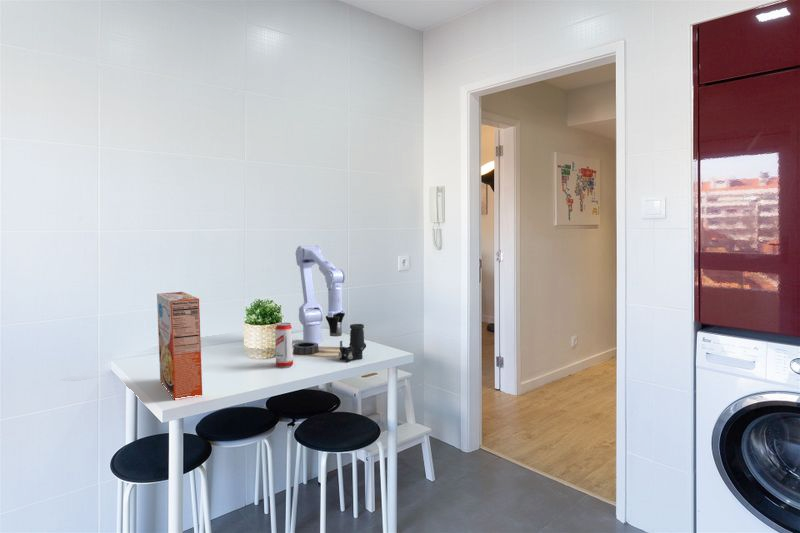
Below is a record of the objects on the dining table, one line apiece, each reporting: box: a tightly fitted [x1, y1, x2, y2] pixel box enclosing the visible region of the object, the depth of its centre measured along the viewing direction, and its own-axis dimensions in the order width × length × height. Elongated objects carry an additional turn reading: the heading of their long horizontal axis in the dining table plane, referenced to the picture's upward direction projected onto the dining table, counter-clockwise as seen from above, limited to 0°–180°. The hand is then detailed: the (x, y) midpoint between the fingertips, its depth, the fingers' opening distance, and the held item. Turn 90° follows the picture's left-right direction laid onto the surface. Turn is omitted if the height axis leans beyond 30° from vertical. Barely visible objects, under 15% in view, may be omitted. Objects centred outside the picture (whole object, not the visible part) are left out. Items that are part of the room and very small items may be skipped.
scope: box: [339, 323, 367, 363], centre depth 195 cm, size 8×14×10 cm
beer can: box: [274, 322, 294, 369], centre depth 188 cm, size 6×6×16 cm
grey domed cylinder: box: [329, 322, 343, 338], centre depth 208 cm, size 5×5×5 cm
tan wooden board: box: [293, 345, 341, 359], centre depth 208 cm, size 18×24×1 cm
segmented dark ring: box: [293, 341, 319, 355], centre depth 207 cm, size 10×10×3 cm
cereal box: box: [156, 291, 203, 399], centre depth 161 cm, size 23×8×30 cm, turn 35°
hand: (335, 331), depth 208 cm, fingers closed on grey domed cylinder, 5 cm apart
